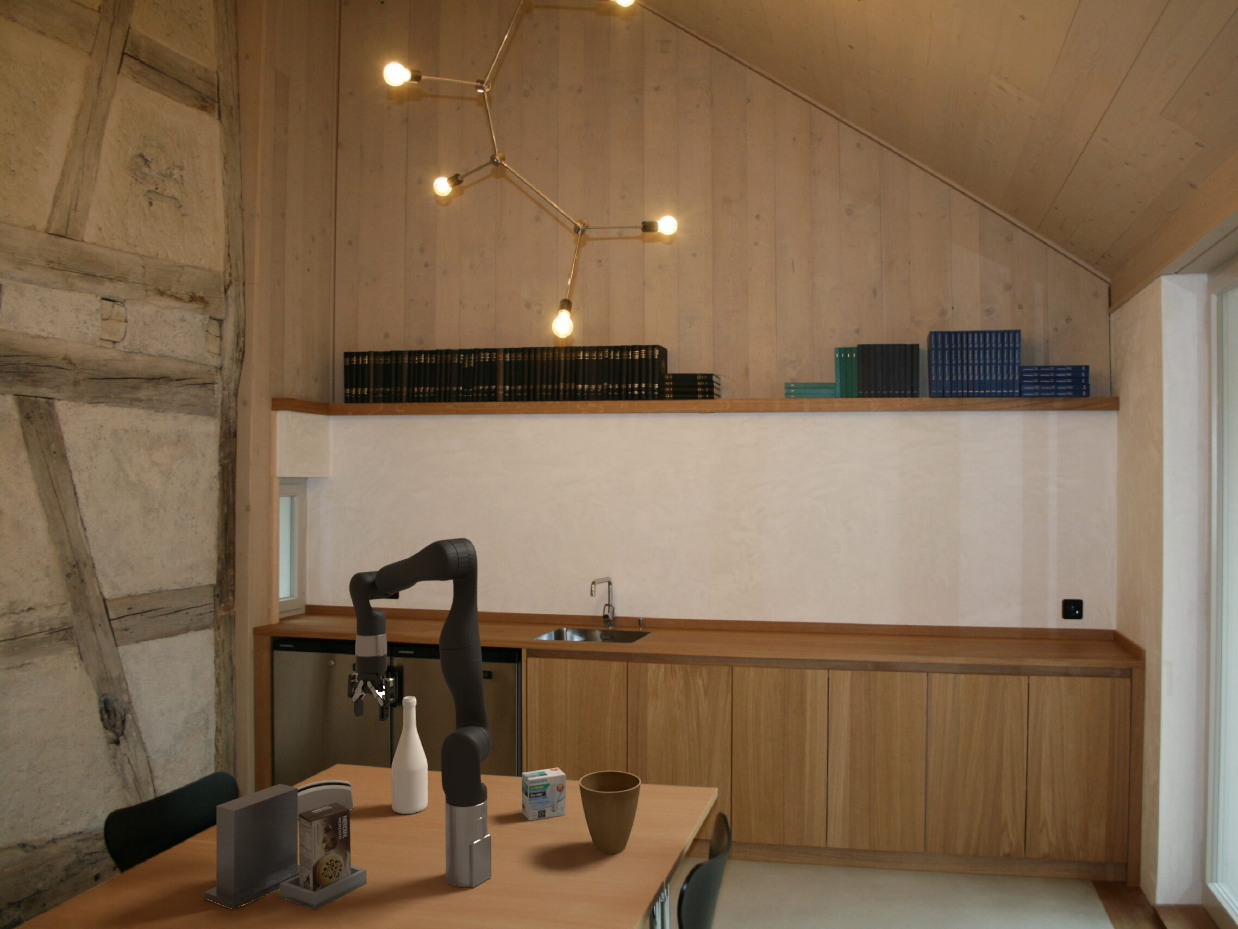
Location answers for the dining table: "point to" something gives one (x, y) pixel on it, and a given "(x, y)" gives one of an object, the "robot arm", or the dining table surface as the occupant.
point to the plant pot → (610, 807)
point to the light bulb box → (543, 793)
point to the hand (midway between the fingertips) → (371, 718)
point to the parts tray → (325, 895)
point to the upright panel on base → (255, 845)
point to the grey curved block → (324, 795)
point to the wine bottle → (409, 766)
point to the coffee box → (324, 846)
